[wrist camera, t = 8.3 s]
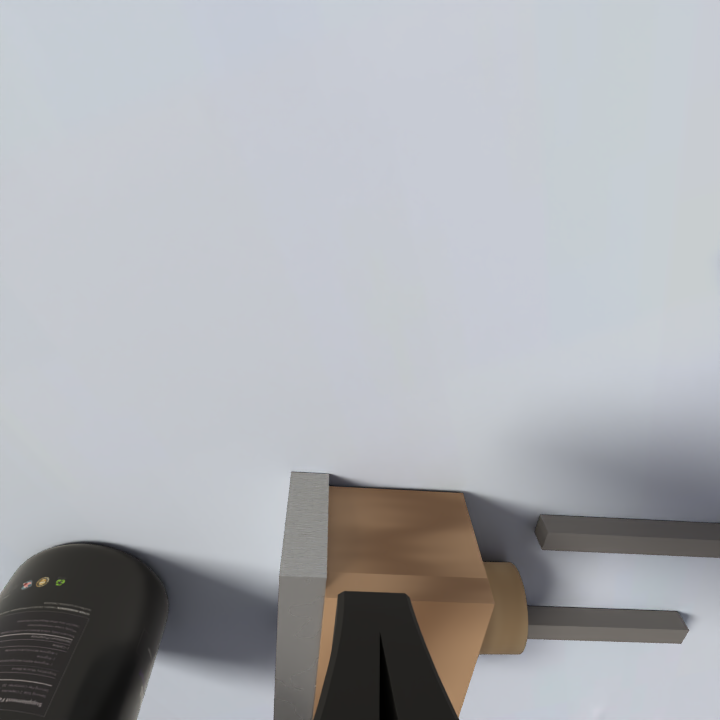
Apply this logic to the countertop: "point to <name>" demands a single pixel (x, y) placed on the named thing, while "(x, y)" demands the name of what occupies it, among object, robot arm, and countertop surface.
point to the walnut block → (411, 572)
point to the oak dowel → (506, 611)
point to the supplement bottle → (79, 635)
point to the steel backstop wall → (301, 596)
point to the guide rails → (627, 540)
